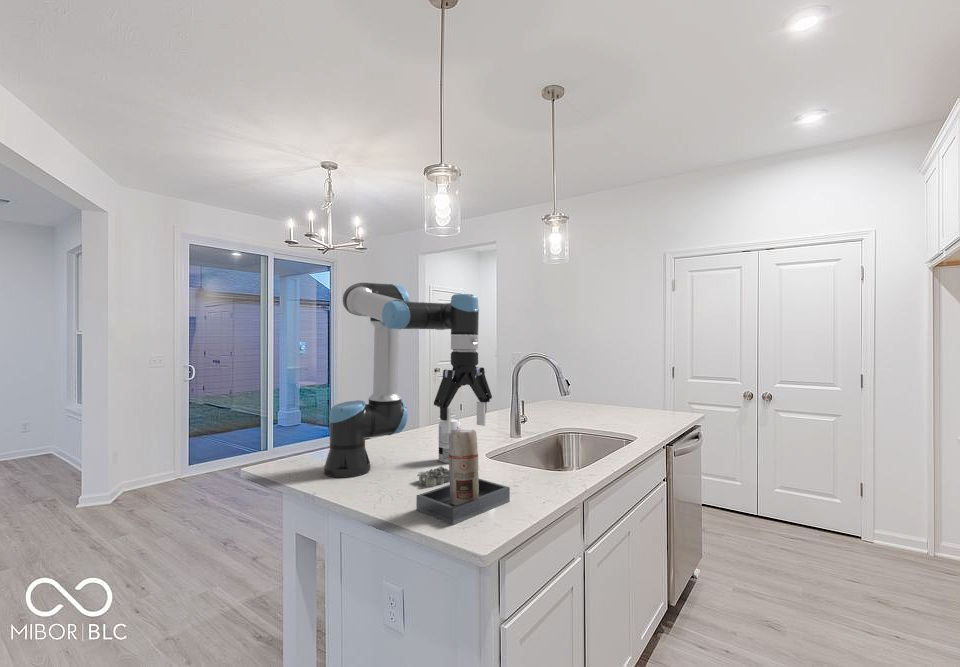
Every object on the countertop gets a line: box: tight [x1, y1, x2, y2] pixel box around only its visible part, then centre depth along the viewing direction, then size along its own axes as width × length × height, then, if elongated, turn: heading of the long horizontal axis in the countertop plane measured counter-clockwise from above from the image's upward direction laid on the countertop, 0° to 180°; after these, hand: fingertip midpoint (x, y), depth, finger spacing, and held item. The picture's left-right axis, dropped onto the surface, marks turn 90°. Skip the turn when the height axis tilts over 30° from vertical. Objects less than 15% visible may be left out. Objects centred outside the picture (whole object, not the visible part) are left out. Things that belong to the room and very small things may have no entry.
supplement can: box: [438, 418, 462, 464], centre depth 173 cm, size 8×8×15 cm
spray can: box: [448, 428, 480, 506], centre depth 127 cm, size 8×8×20 cm
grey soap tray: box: [415, 477, 511, 526], centre depth 127 cm, size 22×14×4 cm, turn 137°
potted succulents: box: [417, 465, 450, 488], centre depth 148 cm, size 11×8×4 cm
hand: (464, 428), depth 127 cm, fingers open, 13 cm apart
